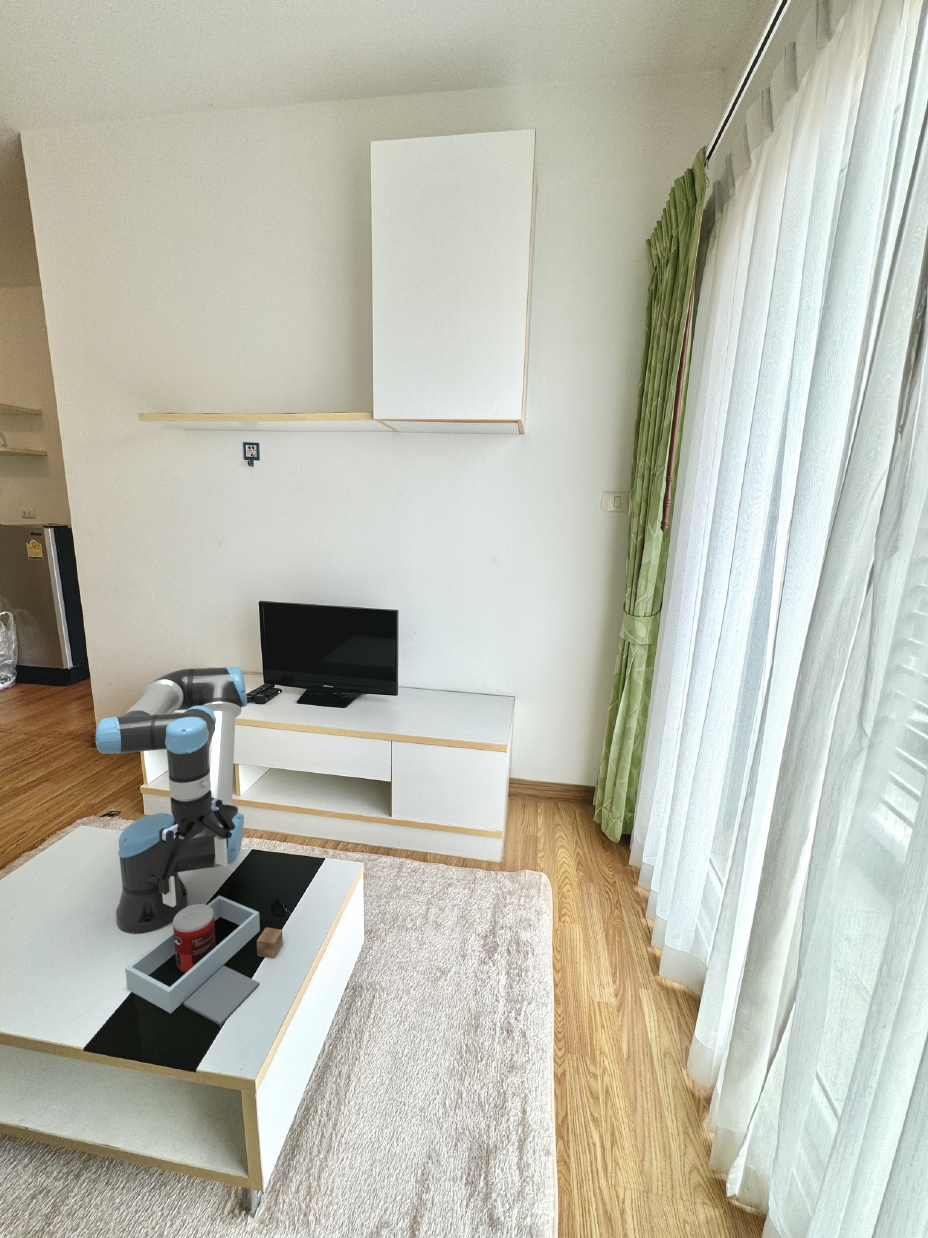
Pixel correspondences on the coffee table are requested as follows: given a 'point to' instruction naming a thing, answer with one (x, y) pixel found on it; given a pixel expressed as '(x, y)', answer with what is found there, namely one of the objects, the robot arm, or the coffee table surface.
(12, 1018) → the coffee table surface
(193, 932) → the canned food
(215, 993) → the pad
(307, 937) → the coffee table surface
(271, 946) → the walnut block
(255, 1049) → the coffee table surface
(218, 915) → the bin
